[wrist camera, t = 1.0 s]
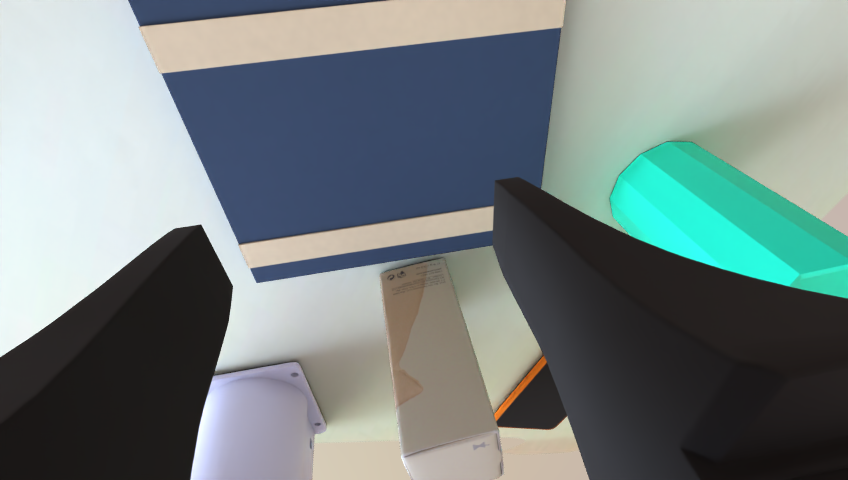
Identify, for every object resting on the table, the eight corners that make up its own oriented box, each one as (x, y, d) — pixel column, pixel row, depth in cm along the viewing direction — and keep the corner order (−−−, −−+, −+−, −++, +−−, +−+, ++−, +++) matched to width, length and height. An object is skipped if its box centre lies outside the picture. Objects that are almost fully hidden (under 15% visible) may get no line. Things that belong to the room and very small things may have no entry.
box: (377, 271, 25) (397, 455, 16) (446, 255, 25) (502, 429, 16) (395, 325, 28) (420, 502, 19) (455, 310, 28) (506, 480, 20)
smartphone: (663, 309, 32) (670, 317, 31) (549, 422, 40) (553, 431, 40) (589, 294, 29) (595, 303, 29) (484, 418, 38) (487, 427, 37)
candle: (719, 129, 23) (989, 271, 13) (693, 215, 26) (888, 374, 17) (615, 153, 22) (813, 315, 13) (604, 236, 26) (751, 409, 17)
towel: (527, 227, 25) (535, 240, 24) (259, 269, 23) (256, 284, 22) (558, -58, 16) (573, -57, 15) (135, -17, 15) (119, -13, 14)
